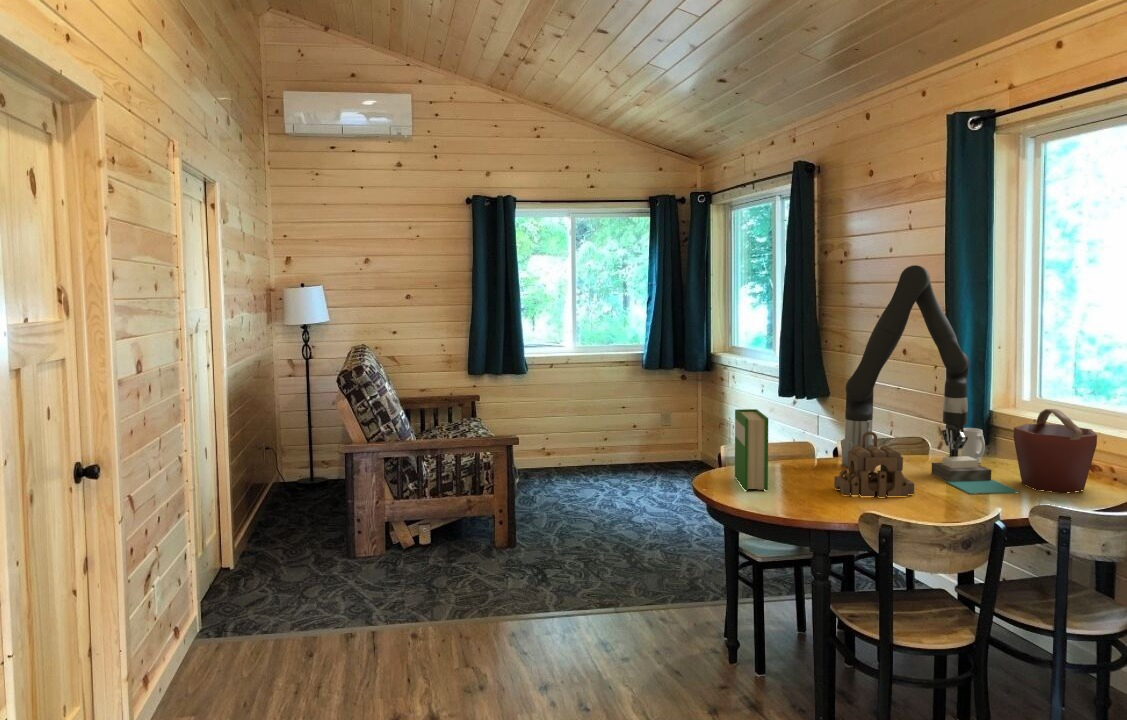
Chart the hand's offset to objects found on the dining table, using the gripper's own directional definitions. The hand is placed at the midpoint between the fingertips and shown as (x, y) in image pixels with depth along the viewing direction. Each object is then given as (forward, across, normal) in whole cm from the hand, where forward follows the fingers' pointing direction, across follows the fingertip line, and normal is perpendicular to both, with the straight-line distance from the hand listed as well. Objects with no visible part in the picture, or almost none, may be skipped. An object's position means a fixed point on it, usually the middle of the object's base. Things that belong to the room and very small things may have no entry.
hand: (953, 459), depth 275 cm
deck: (+5, +5, 0) cm, 7 cm away
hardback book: (+5, +5, -72) cm, 73 cm away
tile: (0, +5, 0) cm, 5 cm away
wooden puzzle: (+5, +19, -36) cm, 41 cm away
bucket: (+5, +19, +22) cm, 29 cm away
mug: (+5, -15, +16) cm, 22 cm away
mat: (+5, +18, 0) cm, 18 cm away
